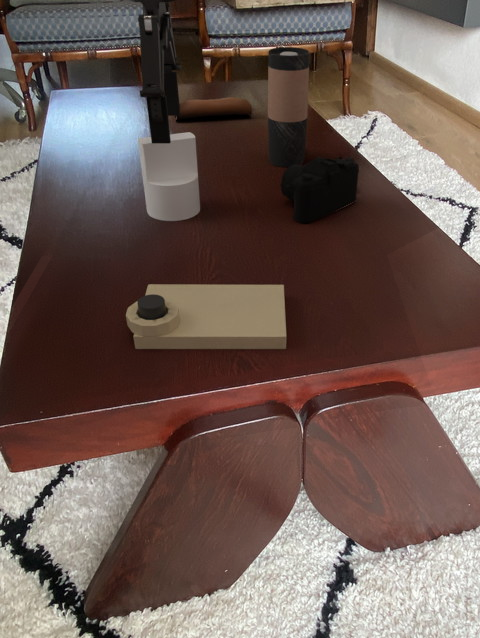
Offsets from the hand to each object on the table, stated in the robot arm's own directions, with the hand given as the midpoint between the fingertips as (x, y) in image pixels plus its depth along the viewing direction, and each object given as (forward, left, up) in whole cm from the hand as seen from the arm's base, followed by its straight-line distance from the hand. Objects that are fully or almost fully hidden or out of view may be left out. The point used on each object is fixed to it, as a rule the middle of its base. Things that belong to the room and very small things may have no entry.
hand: (166, 128), depth 95 cm
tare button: (+2, -37, -10) cm, 39 cm away
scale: (+9, -34, -13) cm, 38 cm away
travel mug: (+20, +24, -14) cm, 34 cm away
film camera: (+24, +2, -14) cm, 28 cm away
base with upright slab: (0, 0, -14) cm, 14 cm away
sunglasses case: (+3, +54, -14) cm, 56 cm away
